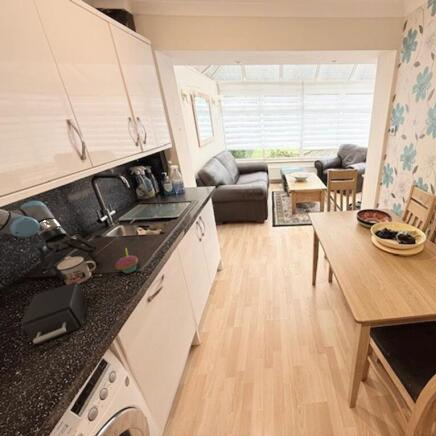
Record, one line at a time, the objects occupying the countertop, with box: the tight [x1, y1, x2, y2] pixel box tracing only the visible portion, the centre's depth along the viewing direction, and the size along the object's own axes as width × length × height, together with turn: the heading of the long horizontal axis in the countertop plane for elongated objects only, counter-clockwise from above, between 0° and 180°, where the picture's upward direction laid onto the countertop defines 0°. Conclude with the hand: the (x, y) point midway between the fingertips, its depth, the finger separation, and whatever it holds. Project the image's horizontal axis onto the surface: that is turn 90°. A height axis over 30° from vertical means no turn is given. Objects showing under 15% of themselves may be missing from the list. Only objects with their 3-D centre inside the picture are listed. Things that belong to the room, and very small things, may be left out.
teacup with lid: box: [56, 255, 97, 285], centre depth 102 cm, size 12×9×12 cm
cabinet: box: [19, 282, 88, 341], centre depth 81 cm, size 15×12×10 cm
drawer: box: [22, 309, 80, 346], centre depth 78 cm, size 17×10×8 cm, turn 33°
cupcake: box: [114, 247, 139, 274], centre depth 105 cm, size 9×8×12 cm
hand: (81, 271), depth 101 cm, fingers closed on teacup with lid, 11 cm apart
